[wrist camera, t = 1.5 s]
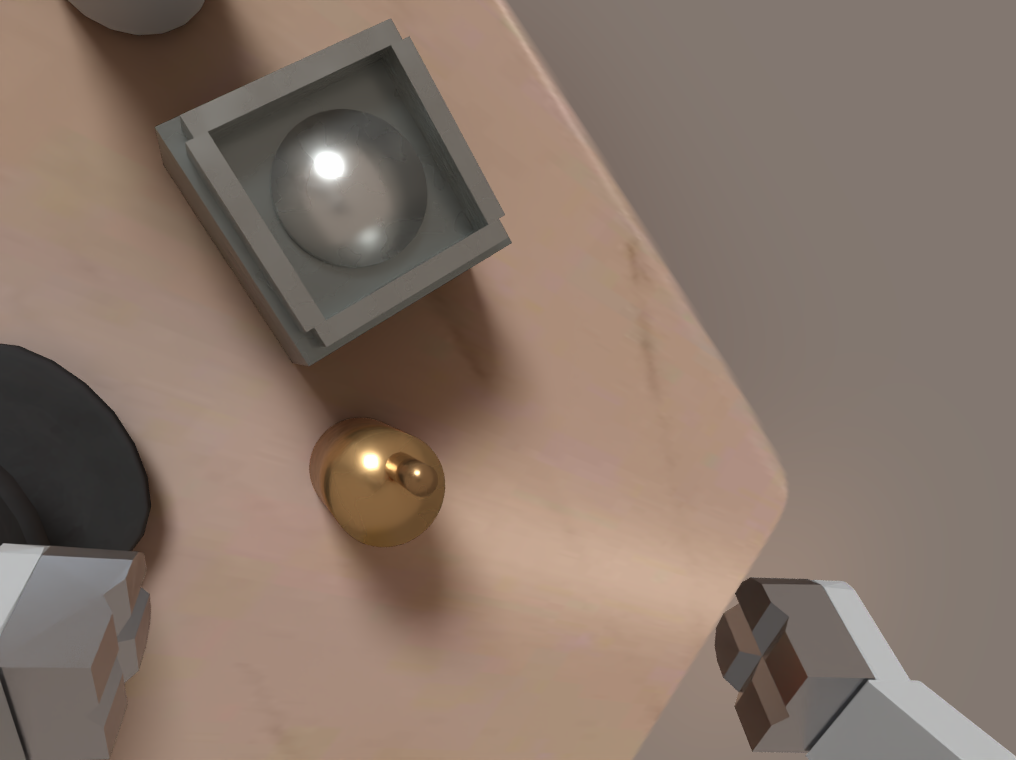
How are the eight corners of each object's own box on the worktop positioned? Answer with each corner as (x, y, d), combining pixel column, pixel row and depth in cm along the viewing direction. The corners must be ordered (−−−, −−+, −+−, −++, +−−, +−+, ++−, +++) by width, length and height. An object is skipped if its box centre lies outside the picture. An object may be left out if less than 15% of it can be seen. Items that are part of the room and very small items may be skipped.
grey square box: (292, 362, 40) (315, 367, 32) (163, 164, 37) (151, 113, 29) (466, 257, 44) (527, 237, 36) (361, 70, 41) (401, 0, 33)
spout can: (382, 527, 43) (440, 587, 32) (292, 493, 41) (323, 545, 30) (421, 439, 43) (491, 470, 33) (335, 401, 41) (380, 421, 31)
